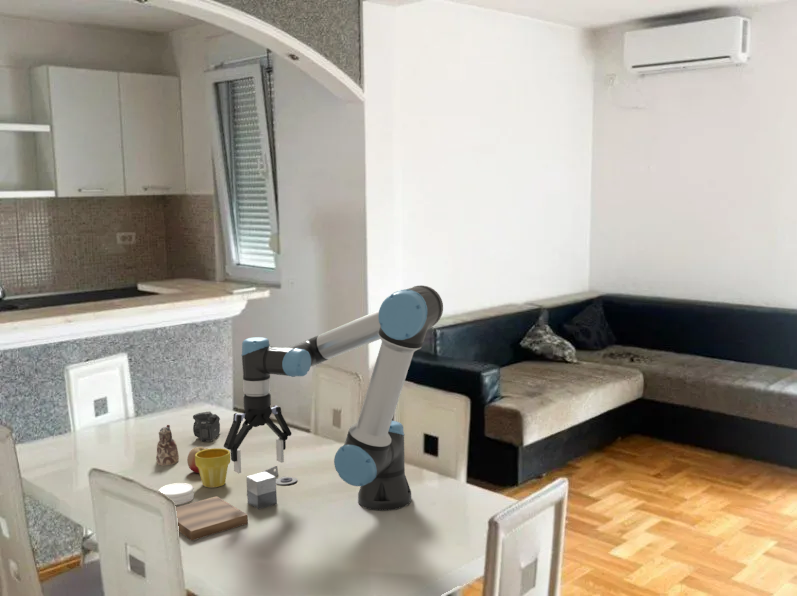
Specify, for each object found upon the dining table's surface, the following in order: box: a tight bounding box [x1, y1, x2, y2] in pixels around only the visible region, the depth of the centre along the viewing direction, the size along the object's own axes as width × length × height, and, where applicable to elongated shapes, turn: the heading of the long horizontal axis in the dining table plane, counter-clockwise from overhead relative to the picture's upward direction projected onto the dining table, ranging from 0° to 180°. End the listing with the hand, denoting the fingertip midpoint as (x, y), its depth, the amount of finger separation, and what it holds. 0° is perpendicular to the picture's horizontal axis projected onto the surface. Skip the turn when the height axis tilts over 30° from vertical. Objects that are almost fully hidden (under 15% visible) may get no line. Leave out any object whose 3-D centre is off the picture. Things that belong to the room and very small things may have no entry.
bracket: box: [262, 465, 298, 486], centre depth 247 cm, size 7×10×3 cm, turn 57°
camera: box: [192, 411, 221, 442], centre depth 293 cm, size 13×10×10 cm
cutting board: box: [175, 495, 249, 542], centre depth 217 cm, size 18×16×2 cm
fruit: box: [186, 446, 209, 474], centre depth 256 cm, size 8×8×8 cm
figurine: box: [155, 424, 180, 466], centre depth 267 cm, size 7×7×12 cm
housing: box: [245, 471, 278, 510], centre depth 228 cm, size 6×6×8 cm
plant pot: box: [195, 447, 231, 489], centre depth 245 cm, size 10×10×10 cm
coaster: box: [157, 482, 195, 506], centre depth 233 cm, size 10×10×4 cm
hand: (259, 466), depth 228 cm, fingers open, 13 cm apart
